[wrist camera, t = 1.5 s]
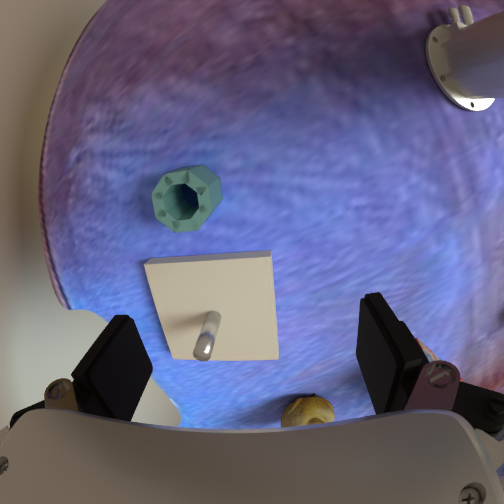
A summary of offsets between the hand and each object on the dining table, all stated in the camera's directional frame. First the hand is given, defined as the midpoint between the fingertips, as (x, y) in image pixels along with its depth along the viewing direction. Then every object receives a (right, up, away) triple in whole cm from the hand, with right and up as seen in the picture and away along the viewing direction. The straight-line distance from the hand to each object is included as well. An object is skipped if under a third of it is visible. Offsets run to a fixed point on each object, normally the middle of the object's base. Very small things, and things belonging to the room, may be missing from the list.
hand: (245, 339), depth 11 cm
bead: (-6, +10, +21) cm, 25 cm away
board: (-5, -4, +27) cm, 28 cm away
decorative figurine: (+10, -24, +34) cm, 43 cm away
